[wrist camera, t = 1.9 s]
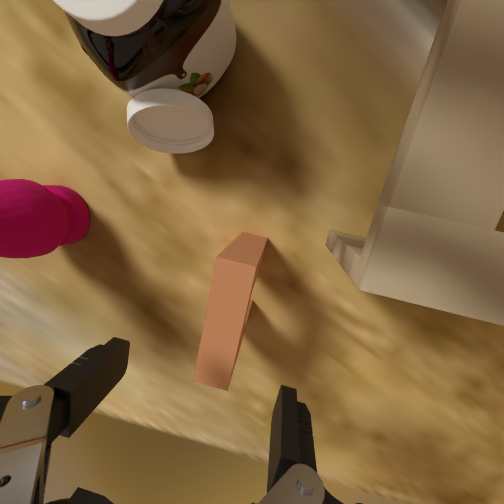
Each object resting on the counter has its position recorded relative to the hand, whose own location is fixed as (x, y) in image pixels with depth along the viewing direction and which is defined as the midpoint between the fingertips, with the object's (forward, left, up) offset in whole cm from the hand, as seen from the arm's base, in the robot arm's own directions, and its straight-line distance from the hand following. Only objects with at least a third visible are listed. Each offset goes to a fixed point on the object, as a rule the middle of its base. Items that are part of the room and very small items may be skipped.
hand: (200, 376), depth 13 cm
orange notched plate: (0, 0, -15) cm, 15 cm away
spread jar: (-17, -9, -15) cm, 24 cm away
